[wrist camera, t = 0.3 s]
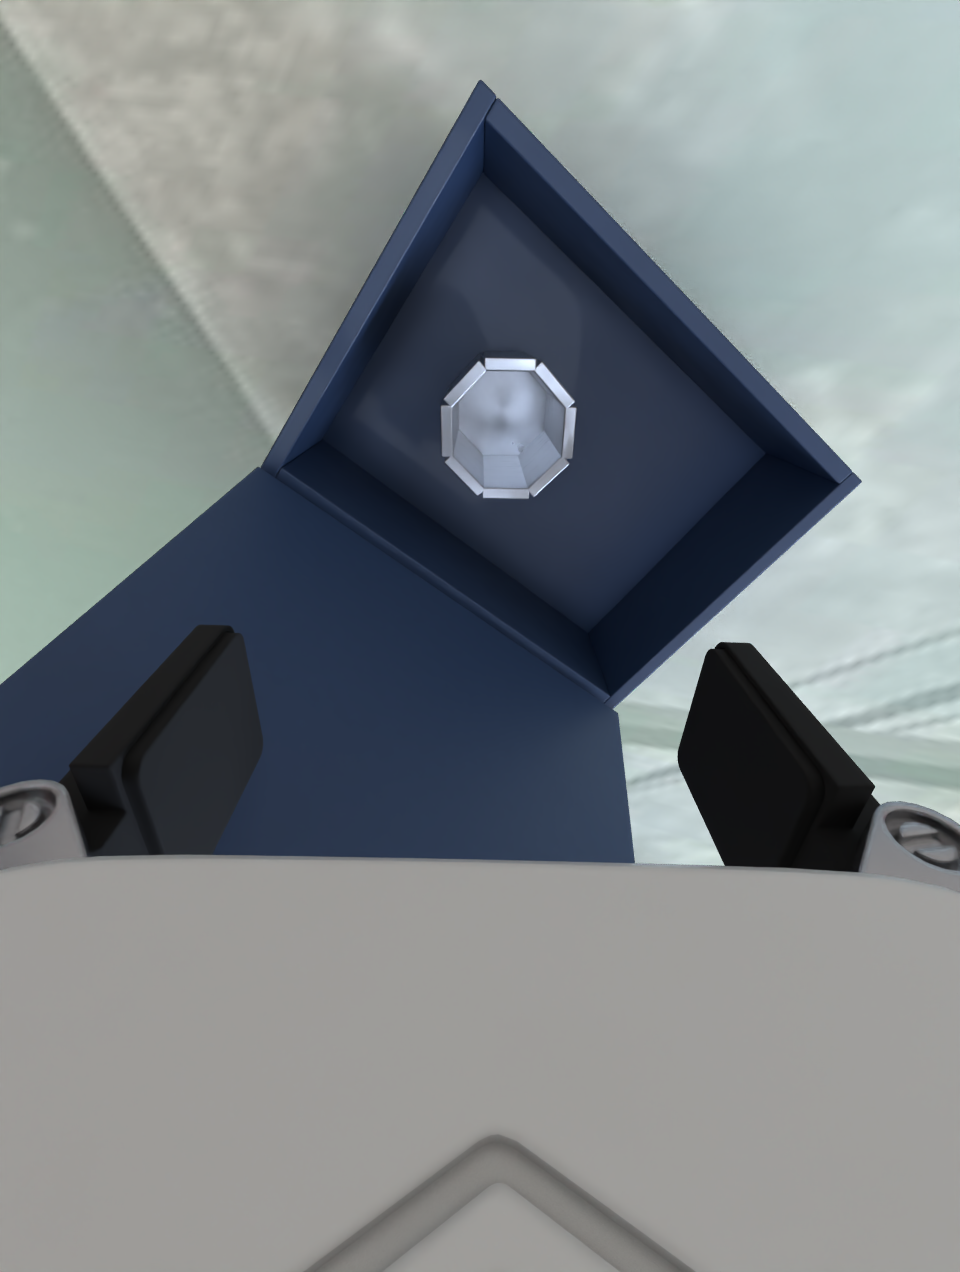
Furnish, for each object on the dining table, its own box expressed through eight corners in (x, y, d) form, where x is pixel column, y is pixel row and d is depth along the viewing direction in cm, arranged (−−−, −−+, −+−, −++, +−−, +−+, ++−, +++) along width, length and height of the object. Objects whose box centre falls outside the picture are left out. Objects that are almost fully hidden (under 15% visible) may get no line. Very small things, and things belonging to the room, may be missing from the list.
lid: (-117, 781, 9) (-119, 876, 11) (662, 1099, 14) (549, 1117, 16) (258, 465, 19) (217, 547, 22) (618, 712, 25) (554, 757, 27)
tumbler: (449, 350, 23) (439, 356, 18) (556, 352, 23) (581, 358, 18) (450, 461, 26) (442, 498, 20) (549, 462, 26) (568, 500, 20)
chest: (480, 148, 21) (480, 77, 15) (778, 448, 26) (863, 481, 20) (308, 439, 26) (258, 470, 20) (586, 640, 31) (611, 711, 25)
